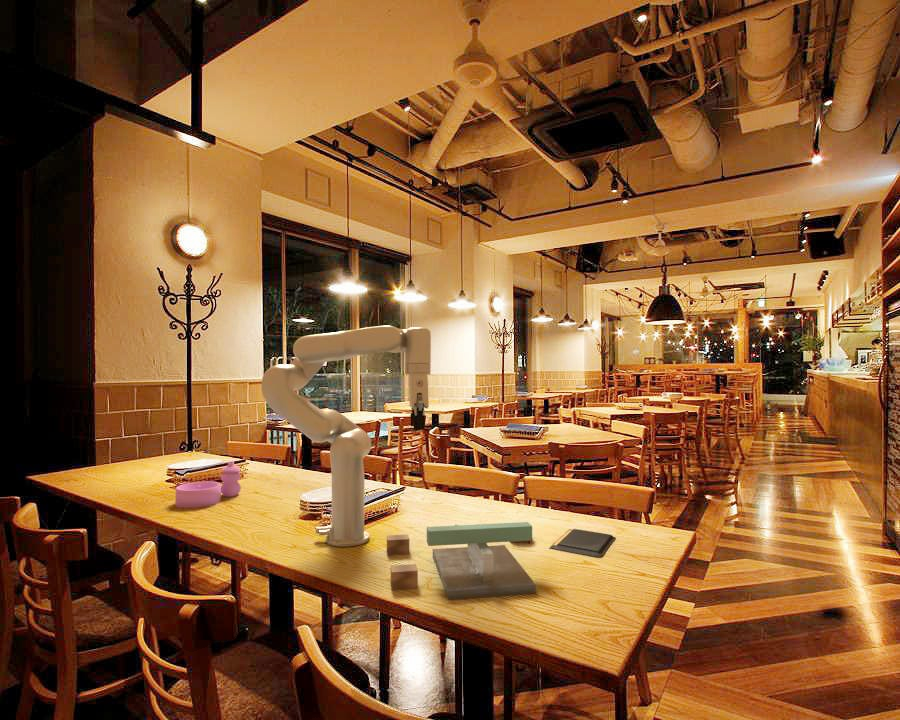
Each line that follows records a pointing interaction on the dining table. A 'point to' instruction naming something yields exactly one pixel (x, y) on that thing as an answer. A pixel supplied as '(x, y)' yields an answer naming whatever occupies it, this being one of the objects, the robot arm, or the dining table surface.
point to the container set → (209, 489)
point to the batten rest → (401, 573)
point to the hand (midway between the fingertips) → (417, 427)
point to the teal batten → (479, 533)
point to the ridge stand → (481, 572)
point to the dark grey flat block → (584, 543)
